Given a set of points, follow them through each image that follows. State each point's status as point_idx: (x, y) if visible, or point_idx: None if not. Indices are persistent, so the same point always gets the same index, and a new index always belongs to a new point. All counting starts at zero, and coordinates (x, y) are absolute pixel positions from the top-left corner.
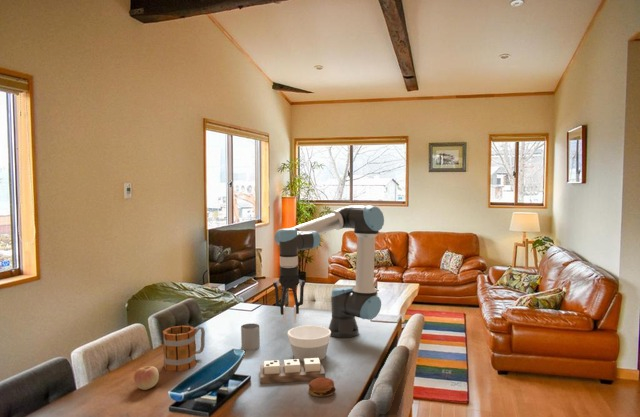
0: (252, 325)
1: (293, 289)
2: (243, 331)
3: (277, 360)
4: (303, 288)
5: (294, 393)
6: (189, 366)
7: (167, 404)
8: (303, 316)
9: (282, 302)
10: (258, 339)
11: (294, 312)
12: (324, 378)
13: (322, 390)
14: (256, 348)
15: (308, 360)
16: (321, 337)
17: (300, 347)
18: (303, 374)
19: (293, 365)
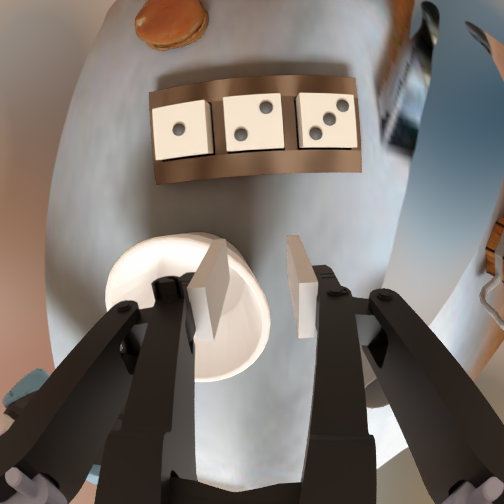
0: (372, 403)
1: (142, 450)
2: None
3: (309, 143)
4: (17, 417)
5: (247, 16)
6: (499, 223)
7: (495, 57)
8: (231, 469)
9: (338, 314)
10: None
11: (212, 265)
12: (154, 26)
13: None
14: None
15: (191, 134)
16: (127, 252)
17: None
18: (216, 81)
19: (247, 95)
